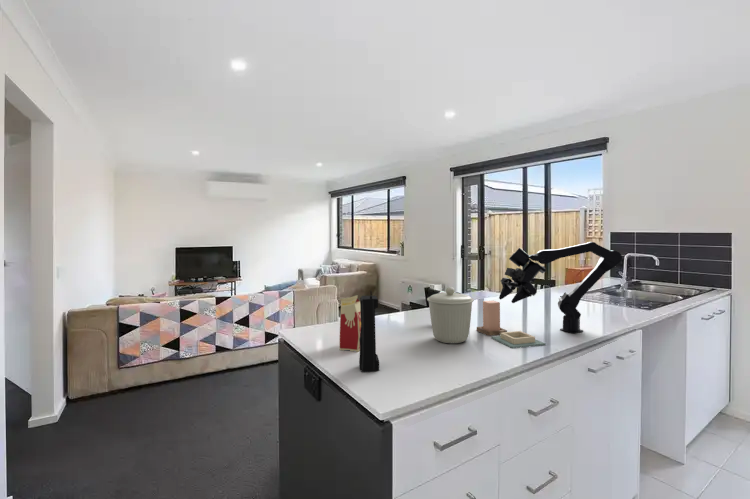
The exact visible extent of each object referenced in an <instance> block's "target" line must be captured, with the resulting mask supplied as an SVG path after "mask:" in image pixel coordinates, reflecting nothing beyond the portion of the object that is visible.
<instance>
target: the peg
mask: <svg viewBox="0 0 750 499" xmlns="http://www.w3.org/2000/svg"><path fill="white" fill-rule="evenodd" d="M500 305H501V302H500V301H496V300H483V301H482V326H483V329H484V330H487V331H498V330H500V328H501V306H500Z"/></svg>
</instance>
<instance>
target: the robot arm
mask: <svg viewBox="0 0 750 499" xmlns="http://www.w3.org/2000/svg"><path fill="white" fill-rule="evenodd" d="M590 252H591V253H593V255H596V256H598V257H599V259H598V261H597V263H596V265H595V267H594V268H593V269H592V270H591V271H590V272H589V273H588V274H587V275H586V276H585V277H584V278H583V280H582V281H581V282H579V284H578V285H577V286H576V287H575V288H574V289H573V290H572V291H571V292H569V293H567V292H566V291H565V292H563V294H562V296H561V297H558V302H557V307H558V309H559V311H560V312H561V313H563V317H562V328H559V330H560V331H563V332H566V333H570V334H577V333H582V332H584V329H581V321H580V320H581V315H582V313H581V312H580V311H579V310H578V309H577V307H578V306H579V303H580V302H581V300H582V298H583V297H584V296H585V295H586V293H588V292H589V290H590V289H592V287H593V286H595V285H596V284H597V282H598V281H599V280H600V279H601V278H602V277H603V276H604V275H605V274H606V273H607V272H609V271H611V270H612V269H614V268H616V266H618V265H619V264H621V263H622V260H623V256H622V254H621V253H620V252H619V251H617V250H612V249H611V250H610V249H608V248H606V247H604V246H601V245H599V244H598V243H596V242H593V241H588V242H586V243H580V244H576V245H573V246H568V247H562V248H557V249H541V250H538V251H537V252H536V253H534V254H530V255H529V254H528V253H527V252H525V251H524V250H523V248H521V247H519V248H518V249H516V251H515V252H513V253H512V254H511V255H510V257H509V258H508V259H509V261H511V262H512V263H513V264H515V265H516V266H518V267H516V268H512V267H506V269H505V272H504V275H505V276H508V277H509V278H508V277H502V279H500V283H501V285H502V286H501V287H502V288H501V290H500V294H499V296H498V299H499V300H502V299H505V298H506V297H507V296H508V295H510V294H512V293H514V291H515V289H518V290H517V292H516V293H515V295H514V296H513V298H512V300H511V303H512V304H515V303H517V302H519V301H520V302H521V301H522V300H524V299H527V298H529V297H530V298H531V297H532V296H533V297H535V296H536V294H538V289H537V287H535V285H533V283H534V282H535V278H536V276H537V275H538V274H539V272H540V273H541V274H545V273H546V266H545V265H546V264H547V265H548V264H550V263H552V262H555V261H557V260H559V259H562V258H567V257H571V256H577V255H580V254H581V255H582V254H585V253H590ZM541 264H542V265H541ZM543 265H544V266H543ZM520 267H523V269H522V268H520Z"/></svg>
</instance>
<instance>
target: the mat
mask: <svg viewBox="0 0 750 499" xmlns="http://www.w3.org/2000/svg"><path fill="white" fill-rule="evenodd" d="M490 338H491V340H495V341H496V342H498V343H501V344H503V345H504V346H506V347H509V348H510V349H521V348H529V346H531V347H539V346H540V345H541V346H546V343H545V342H543V341H540V340H538V339H536V336H534V335H532V334H530V333H526V332H525V331H521V330H518V331H517V330H516V331H515V330H514V331H507V332H503V333H500V335H491V337H490ZM520 347H521V348H520Z"/></svg>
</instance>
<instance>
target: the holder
mask: <svg viewBox="0 0 750 499" xmlns="http://www.w3.org/2000/svg"><path fill="white" fill-rule="evenodd" d="M476 331H477V332H479V333H481V334H484V336H487V337H490V336H491V337H492V336H500V333H503V332H508V330H507V329H505V328H504V327H503V328H502V327H500V330H498V331H487V330H484V329H483V325H482V326H476Z"/></svg>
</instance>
